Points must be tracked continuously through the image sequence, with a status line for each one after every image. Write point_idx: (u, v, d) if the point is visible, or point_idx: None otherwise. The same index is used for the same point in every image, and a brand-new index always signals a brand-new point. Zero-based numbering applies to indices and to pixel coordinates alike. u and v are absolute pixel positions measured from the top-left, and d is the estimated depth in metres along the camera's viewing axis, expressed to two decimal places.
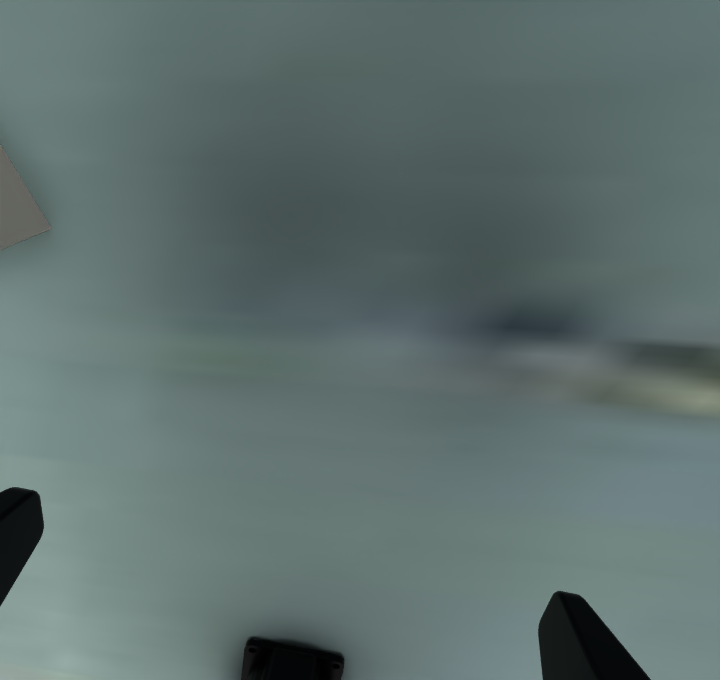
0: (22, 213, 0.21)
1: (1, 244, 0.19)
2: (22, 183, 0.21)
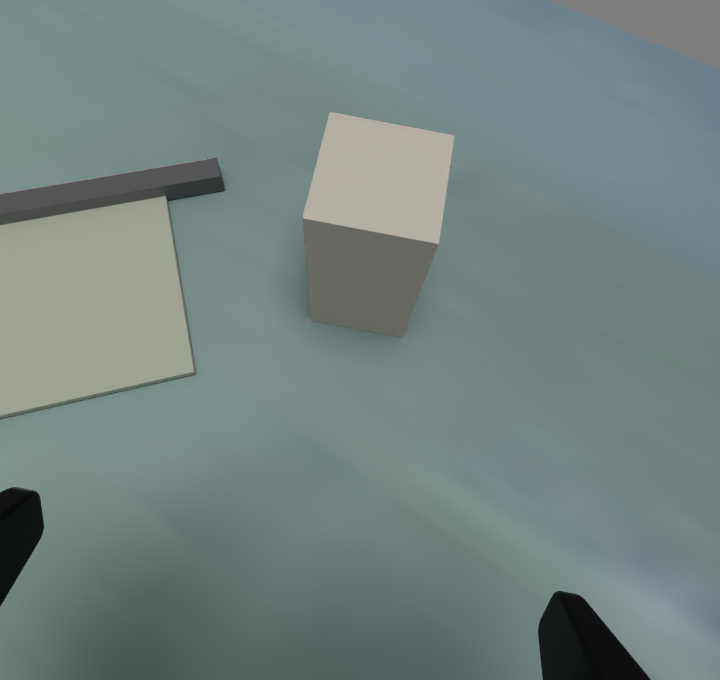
0: None
1: (410, 313, 0.22)
2: None
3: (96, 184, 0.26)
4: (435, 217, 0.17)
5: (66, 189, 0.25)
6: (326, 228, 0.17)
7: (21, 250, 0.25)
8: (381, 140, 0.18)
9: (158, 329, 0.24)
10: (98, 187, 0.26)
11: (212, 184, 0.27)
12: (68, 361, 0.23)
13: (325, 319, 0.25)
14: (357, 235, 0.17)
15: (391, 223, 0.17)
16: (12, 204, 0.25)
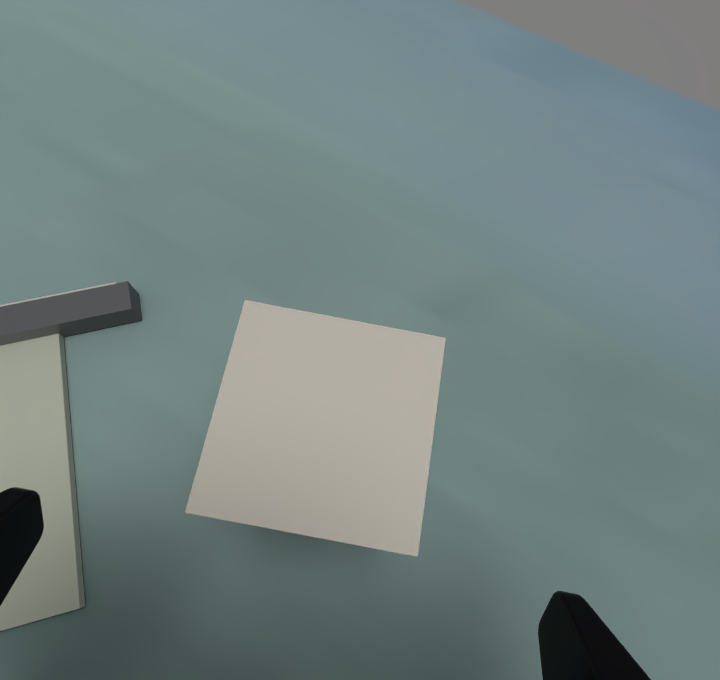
0: None
1: None
2: None
3: None
4: (413, 500, 0.10)
5: None
6: (229, 520, 0.10)
7: None
8: (326, 351, 0.11)
9: None
10: None
11: (123, 316, 0.20)
12: None
13: None
14: (282, 530, 0.10)
15: (337, 517, 0.10)
16: None
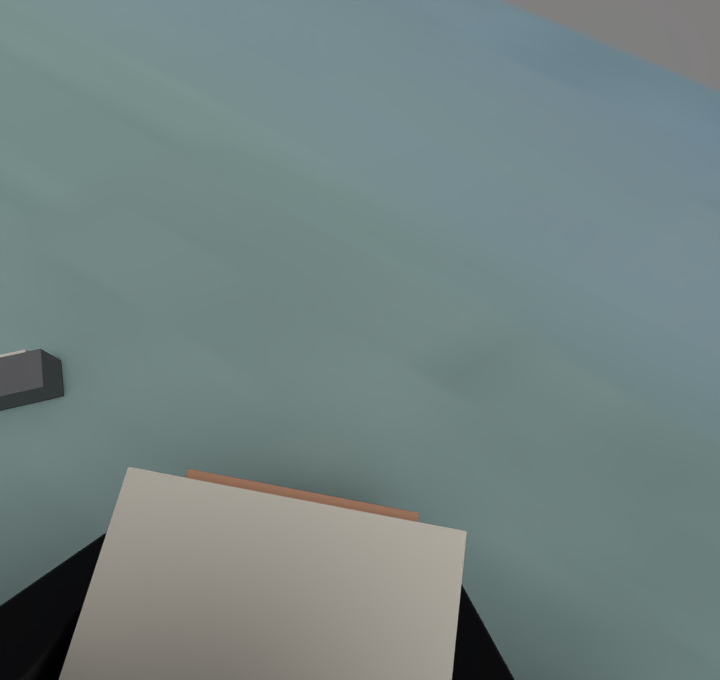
0: None
1: None
2: None
3: None
4: None
5: None
6: None
7: None
8: (263, 562, 0.06)
9: None
10: None
11: (34, 394, 0.15)
12: None
13: None
14: None
15: None
16: None
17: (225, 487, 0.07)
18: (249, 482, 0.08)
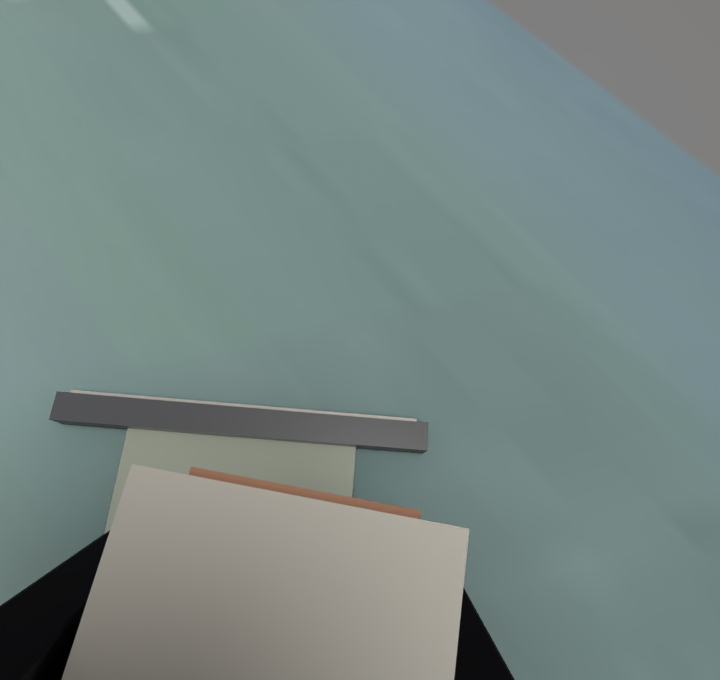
0: None
1: None
2: None
3: (286, 420, 0.22)
4: None
5: (252, 417, 0.22)
6: None
7: (184, 473, 0.21)
8: (267, 559, 0.06)
9: None
10: (287, 424, 0.22)
11: (414, 451, 0.22)
12: None
13: None
14: None
15: None
16: (190, 419, 0.21)
17: (228, 484, 0.07)
18: (252, 479, 0.08)
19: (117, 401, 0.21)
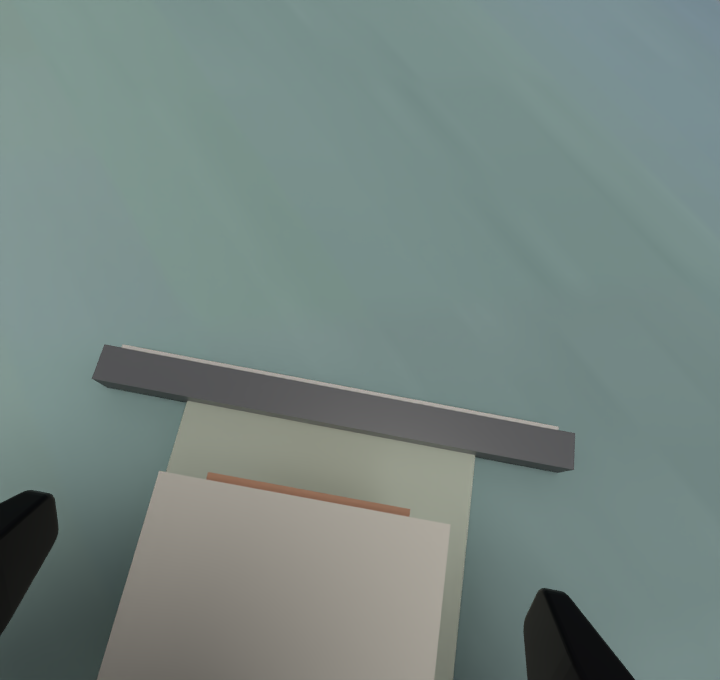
0: None
1: None
2: None
3: (392, 410, 0.17)
4: None
5: (349, 402, 0.17)
6: None
7: (254, 465, 0.17)
8: (276, 551, 0.08)
9: None
10: (393, 417, 0.17)
11: (552, 468, 0.17)
12: None
13: None
14: None
15: None
16: (270, 398, 0.17)
17: (243, 487, 0.08)
18: (262, 483, 0.09)
19: (179, 364, 0.17)
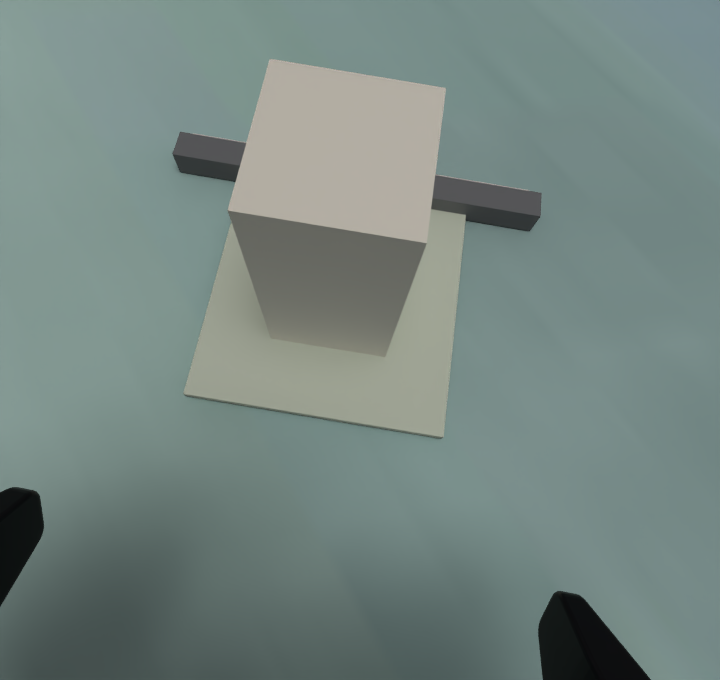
0: None
1: None
2: None
3: None
4: (421, 204, 0.12)
5: None
6: (264, 224, 0.12)
7: None
8: (343, 96, 0.13)
9: (416, 370, 0.20)
10: None
11: (524, 220, 0.22)
12: (311, 367, 0.20)
13: (288, 337, 0.19)
14: (310, 234, 0.12)
15: (357, 215, 0.12)
16: None
17: (320, 68, 0.13)
18: None
19: (238, 145, 0.22)
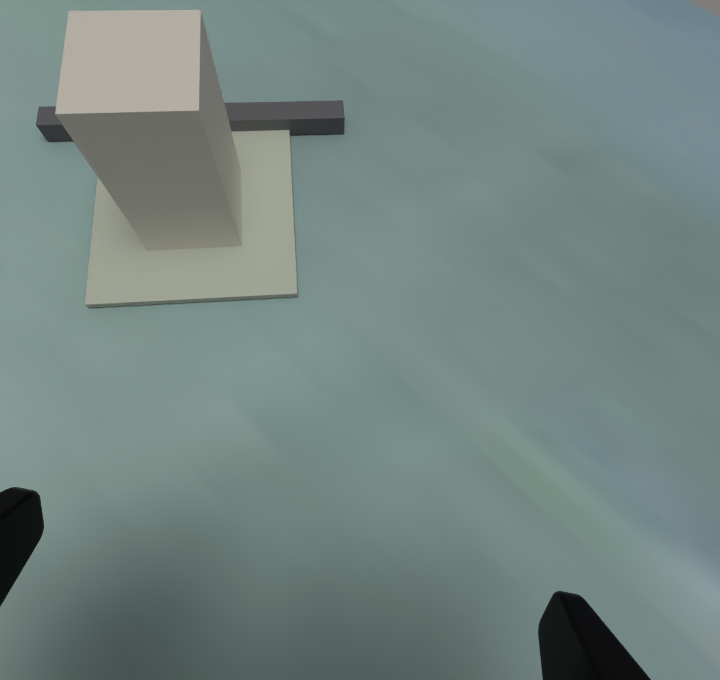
0: (238, 217, 0.25)
1: (231, 211, 0.23)
2: (240, 211, 0.26)
3: (229, 108, 0.27)
4: (192, 86, 0.17)
5: None
6: (85, 121, 0.17)
7: None
8: (126, 27, 0.18)
9: (268, 250, 0.25)
10: (231, 111, 0.27)
11: (335, 125, 0.28)
12: (184, 265, 0.25)
13: (160, 244, 0.24)
14: (120, 122, 0.17)
15: (148, 101, 0.17)
16: None
17: (107, 11, 0.18)
18: None
19: None
